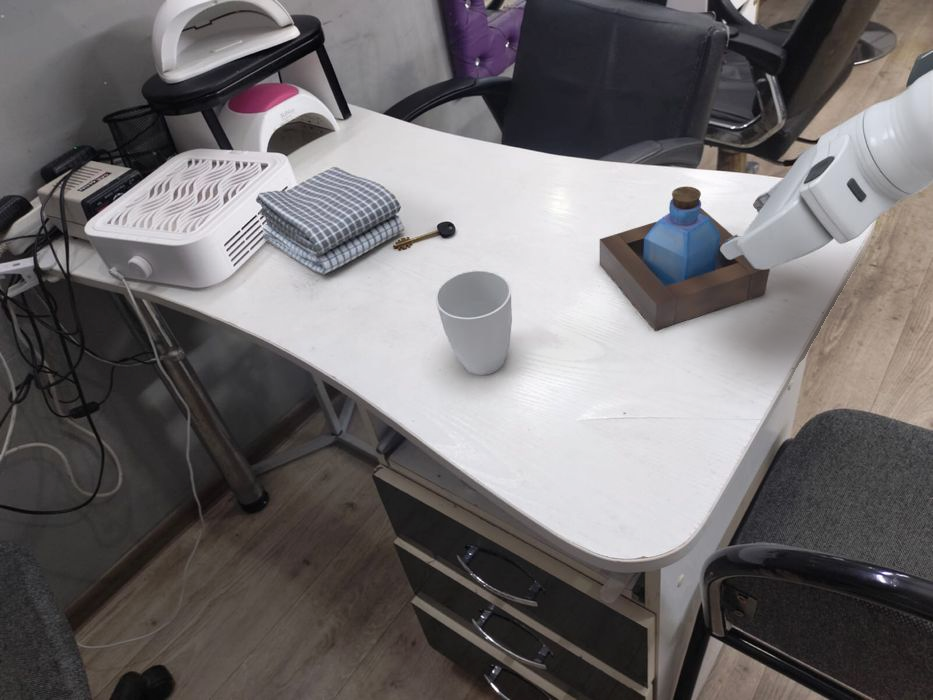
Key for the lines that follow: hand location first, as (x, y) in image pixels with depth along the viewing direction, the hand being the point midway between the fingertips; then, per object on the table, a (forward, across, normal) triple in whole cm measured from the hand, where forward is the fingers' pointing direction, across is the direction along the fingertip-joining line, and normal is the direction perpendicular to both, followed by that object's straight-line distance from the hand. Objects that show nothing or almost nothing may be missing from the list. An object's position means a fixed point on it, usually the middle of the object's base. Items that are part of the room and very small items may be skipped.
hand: (742, 228), depth 75 cm
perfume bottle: (+12, -1, +2) cm, 12 cm away
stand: (+12, 0, +2) cm, 12 cm away
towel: (+46, +13, -32) cm, 58 cm away
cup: (+21, +23, -7) cm, 32 cm away
